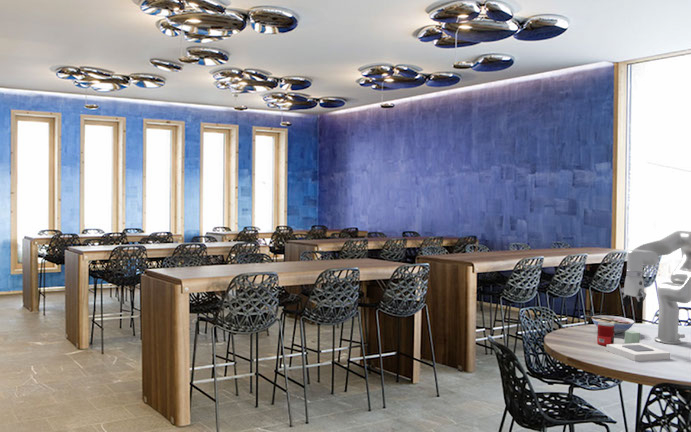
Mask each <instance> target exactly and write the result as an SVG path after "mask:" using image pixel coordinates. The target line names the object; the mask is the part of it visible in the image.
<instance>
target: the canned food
mask: <svg viewBox="0 0 691 432" xmlns="http://www.w3.org/2000/svg"><path fill="white" fill-rule="evenodd" d="M614 341H615V334H614V324H613V323H608V322H598V327H597V336H596V344H597V345H599V346H602V347H603V346H604V347H606V344H615V342H614Z"/></svg>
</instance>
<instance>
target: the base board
mask: <svg viewBox="0 0 691 432" xmlns="http://www.w3.org/2000/svg"><path fill="white" fill-rule="evenodd" d="M605 347H606V349H605V351H607V352H610V353H613V354H615V355H618V356H620V357H623V358H625V359H628V360H631V361H633V362H642V361H656V360H657V361H659V360H661V361H662V360H671V352H670V351H667V350H664V349H663V350H662V349H660V348H657V347H654V346H652V345H648V344H645V343H642V342H640V343H627V344H624V343H614V344H606V346H605Z"/></svg>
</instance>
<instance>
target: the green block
mask: <svg viewBox="0 0 691 432" xmlns="http://www.w3.org/2000/svg"><path fill="white" fill-rule="evenodd" d="M640 337H641V333H640V332H638V331H634V330H627V331H624V342H623V344H627V343H641V341H640V340H641V338H640Z"/></svg>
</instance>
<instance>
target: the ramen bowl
mask: <svg viewBox="0 0 691 432" xmlns="http://www.w3.org/2000/svg"><path fill="white" fill-rule="evenodd" d="M584 318H589V319H591V320H592V322H593V323H594V325H595V326H596V327H597V328H598V322H608V323H613V324H614V335H615V334H617V335H618V334H620V333H625V331H629V330H630V328H632V326H633V325H634V323H635V322H636V321H635V320H633V319H631V318H626V317H621V316H615V315H594V316H591V315H585V316H584Z"/></svg>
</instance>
